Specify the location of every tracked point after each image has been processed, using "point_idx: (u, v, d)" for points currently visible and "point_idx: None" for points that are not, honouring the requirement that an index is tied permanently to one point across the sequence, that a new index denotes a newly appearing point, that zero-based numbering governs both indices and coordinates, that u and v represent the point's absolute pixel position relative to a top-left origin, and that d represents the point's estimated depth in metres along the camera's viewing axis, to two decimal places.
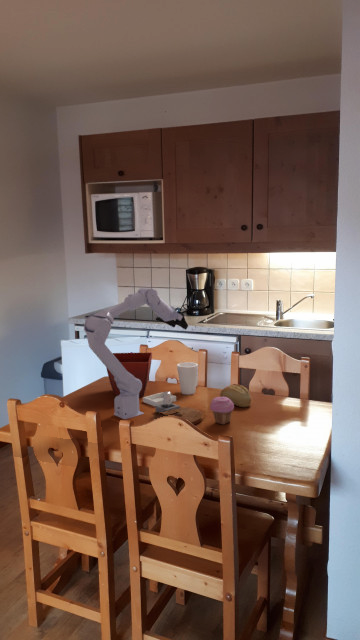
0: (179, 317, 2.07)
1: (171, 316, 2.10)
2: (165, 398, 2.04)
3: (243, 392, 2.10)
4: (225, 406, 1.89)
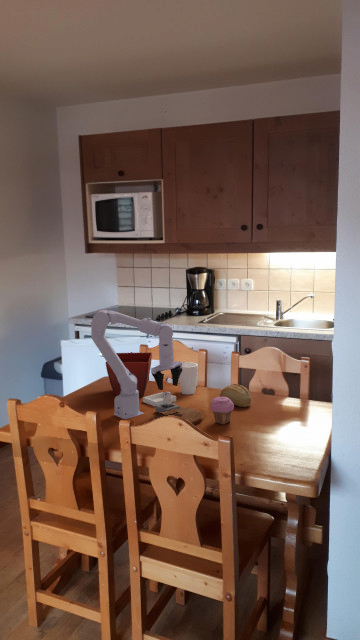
0: (152, 370, 1.99)
1: (159, 366, 2.02)
2: (165, 398, 2.04)
3: (243, 392, 2.10)
4: (225, 406, 1.89)
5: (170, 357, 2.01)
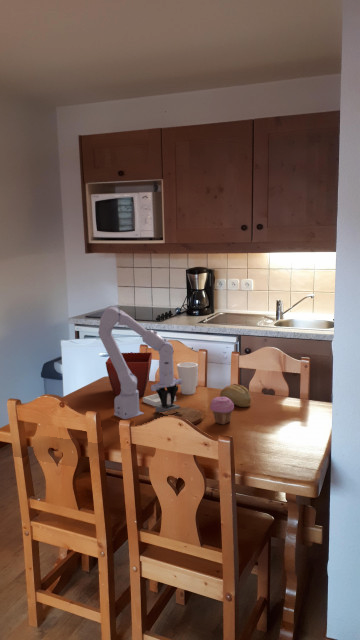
0: (151, 387, 2.00)
1: (159, 383, 2.03)
2: None
3: (243, 392, 2.10)
4: (225, 406, 1.89)
5: (170, 375, 2.01)
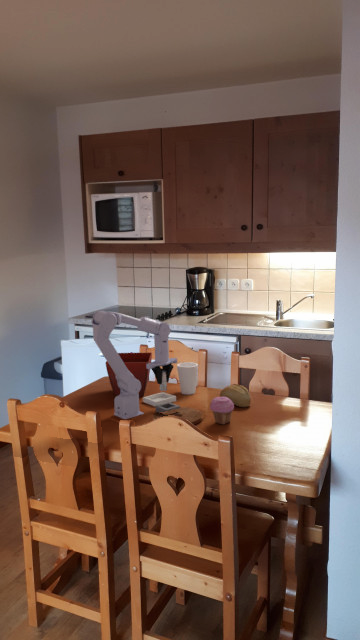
0: (147, 365, 2.06)
1: (155, 362, 2.09)
2: None
3: (243, 392, 2.10)
4: (225, 406, 1.89)
5: (165, 353, 2.08)
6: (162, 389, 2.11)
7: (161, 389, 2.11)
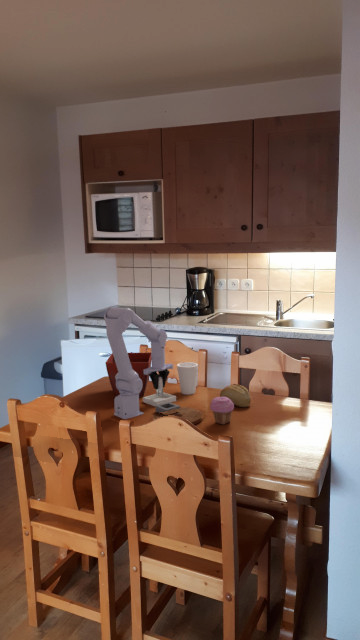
0: (144, 371, 2.13)
1: (151, 367, 2.16)
2: None
3: (243, 392, 2.10)
4: (225, 406, 1.89)
5: (161, 359, 2.15)
6: (158, 394, 2.18)
7: (157, 394, 2.18)
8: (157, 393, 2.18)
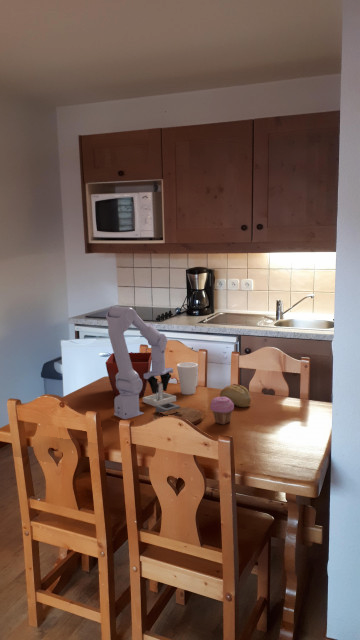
0: (144, 375, 2.14)
1: (152, 372, 2.16)
2: (157, 388, 2.18)
3: (243, 392, 2.10)
4: (225, 406, 1.89)
5: (161, 364, 2.15)
6: (158, 400, 2.18)
7: (158, 400, 2.18)
8: (157, 399, 2.18)
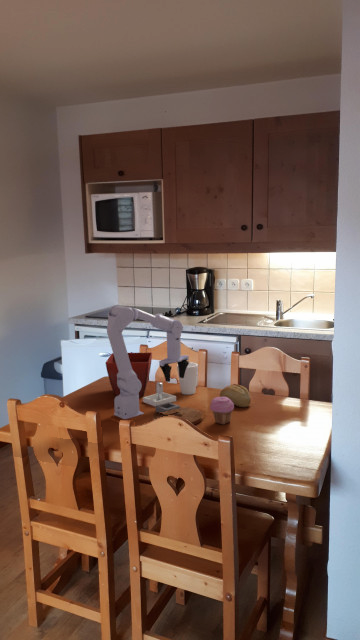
0: (160, 362, 2.11)
1: (167, 359, 2.14)
2: (157, 388, 2.18)
3: (243, 392, 2.10)
4: (225, 406, 1.89)
5: (177, 351, 2.12)
6: (158, 400, 2.18)
7: (158, 400, 2.18)
8: (157, 399, 2.18)
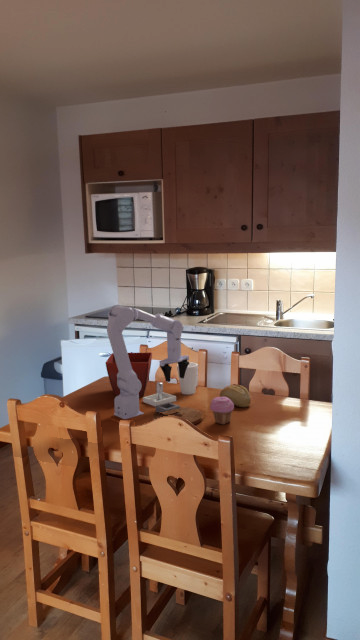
0: (160, 362, 2.11)
1: (167, 359, 2.14)
2: (157, 388, 2.18)
3: (243, 392, 2.10)
4: (225, 406, 1.89)
5: (178, 351, 2.12)
6: (158, 400, 2.18)
7: (158, 400, 2.18)
8: (157, 399, 2.18)
